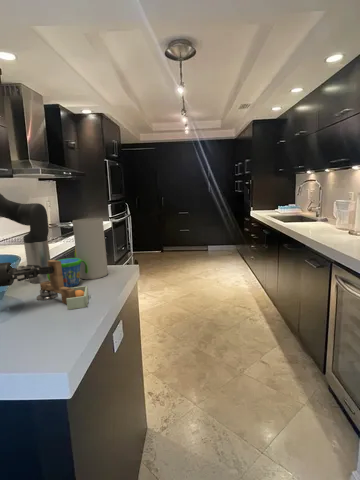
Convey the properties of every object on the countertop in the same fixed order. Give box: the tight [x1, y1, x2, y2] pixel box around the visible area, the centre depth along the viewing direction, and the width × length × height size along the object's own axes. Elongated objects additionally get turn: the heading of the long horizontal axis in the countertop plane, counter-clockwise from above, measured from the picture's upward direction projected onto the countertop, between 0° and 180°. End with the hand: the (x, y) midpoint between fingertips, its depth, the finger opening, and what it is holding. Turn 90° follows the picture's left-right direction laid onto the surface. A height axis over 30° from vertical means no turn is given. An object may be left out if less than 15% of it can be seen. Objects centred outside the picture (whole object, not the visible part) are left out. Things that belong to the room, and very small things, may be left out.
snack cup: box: [47, 257, 88, 288], centre depth 118 cm, size 16×10×10 cm
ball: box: [75, 290, 84, 297], centre depth 99 cm, size 4×4×4 cm
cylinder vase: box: [72, 217, 109, 280], centre depth 129 cm, size 12×12×25 cm
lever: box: [39, 259, 76, 305], centre depth 101 cm, size 18×4×14 cm, turn 54°
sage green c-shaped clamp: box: [66, 285, 90, 311], centre depth 99 cm, size 12×6×4 cm, turn 15°
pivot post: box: [36, 289, 59, 302], centre depth 106 cm, size 7×7×3 cm
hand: (52, 269), depth 98 cm, fingers closed
